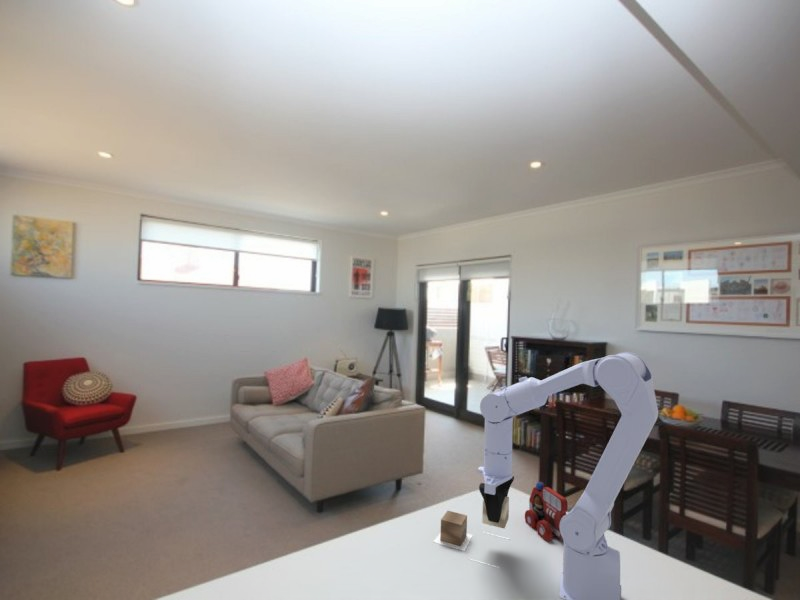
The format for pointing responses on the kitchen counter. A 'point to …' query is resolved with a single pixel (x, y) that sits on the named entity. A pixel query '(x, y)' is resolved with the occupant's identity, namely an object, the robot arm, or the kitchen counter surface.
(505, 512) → the maple block
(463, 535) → the walnut block
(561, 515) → the toy fire truck
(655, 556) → the kitchen counter surface
